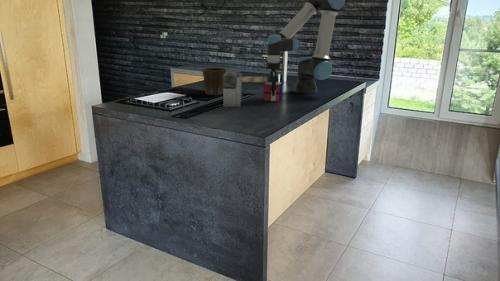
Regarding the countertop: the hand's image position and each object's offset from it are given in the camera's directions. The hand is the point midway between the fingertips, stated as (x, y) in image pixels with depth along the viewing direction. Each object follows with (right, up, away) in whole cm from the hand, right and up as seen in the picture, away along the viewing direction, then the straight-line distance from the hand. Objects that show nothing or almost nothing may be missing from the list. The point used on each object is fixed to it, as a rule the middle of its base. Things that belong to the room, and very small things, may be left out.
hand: (272, 98), depth 239 cm
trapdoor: (-16, +7, -13) cm, 22 cm away
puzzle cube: (0, -1, 0) cm, 1 cm away
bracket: (-24, -3, -9) cm, 26 cm away
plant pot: (-37, +5, +17) cm, 41 cm away
